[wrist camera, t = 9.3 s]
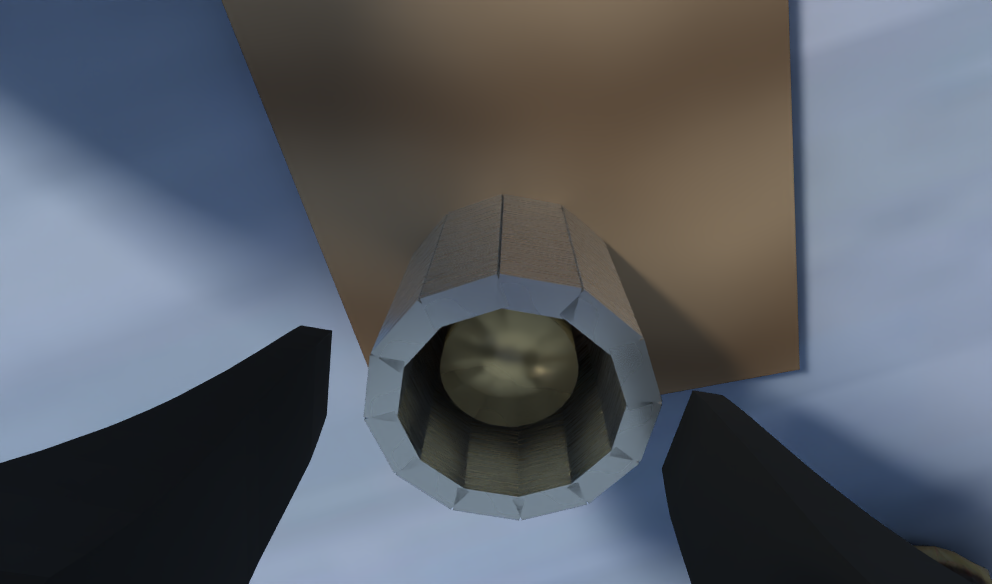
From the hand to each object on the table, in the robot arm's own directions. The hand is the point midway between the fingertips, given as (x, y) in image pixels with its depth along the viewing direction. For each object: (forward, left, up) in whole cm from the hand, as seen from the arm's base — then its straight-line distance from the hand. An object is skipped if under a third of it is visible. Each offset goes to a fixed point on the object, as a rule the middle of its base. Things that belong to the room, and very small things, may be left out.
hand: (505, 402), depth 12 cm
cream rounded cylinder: (0, 0, -6) cm, 6 cm away
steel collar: (0, 0, -5) cm, 5 cm away
